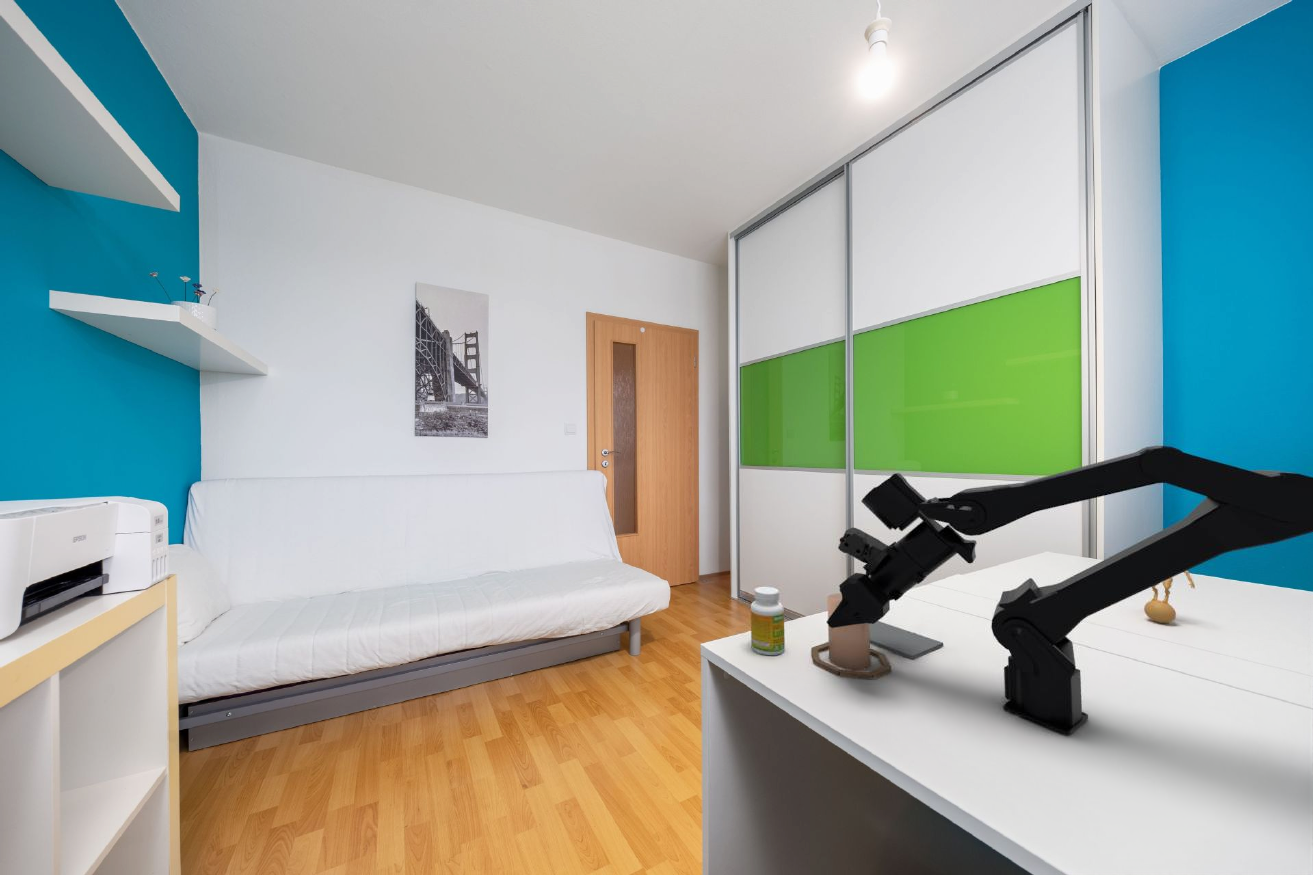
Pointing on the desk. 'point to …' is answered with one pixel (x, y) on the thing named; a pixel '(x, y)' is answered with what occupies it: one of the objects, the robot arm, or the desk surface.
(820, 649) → the coaster ring
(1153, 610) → the figurine
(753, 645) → the supplement bottle
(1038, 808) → the desk surface
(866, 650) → the peach cylinder
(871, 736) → the desk surface
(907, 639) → the rubber mat
